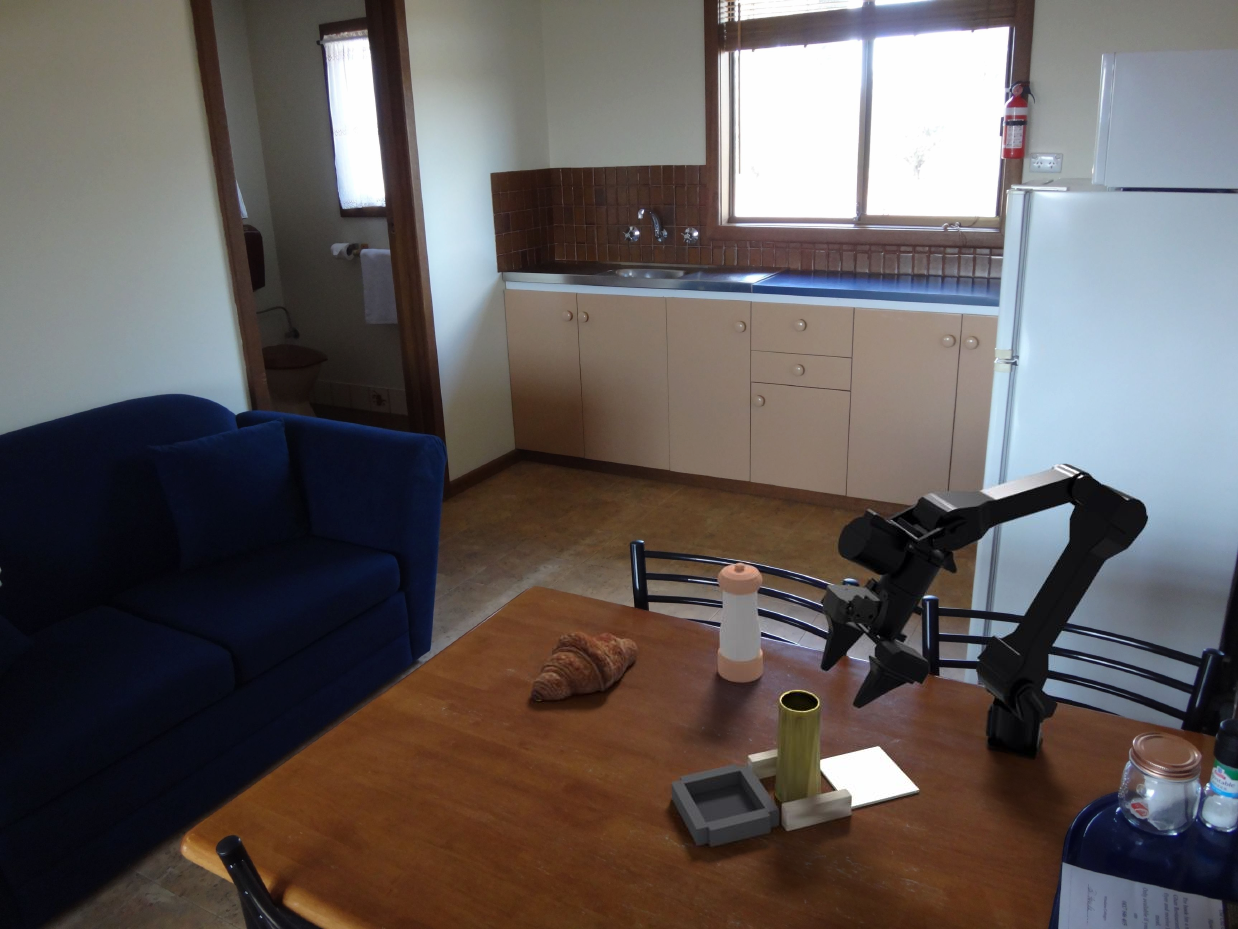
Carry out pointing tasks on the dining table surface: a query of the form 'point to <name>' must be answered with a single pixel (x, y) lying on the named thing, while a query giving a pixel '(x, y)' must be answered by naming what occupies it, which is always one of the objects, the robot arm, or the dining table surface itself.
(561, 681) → the pastry
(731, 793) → the tray
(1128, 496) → the robot arm
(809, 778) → the vase
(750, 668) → the salt shaker
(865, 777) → the pad
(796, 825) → the channel
